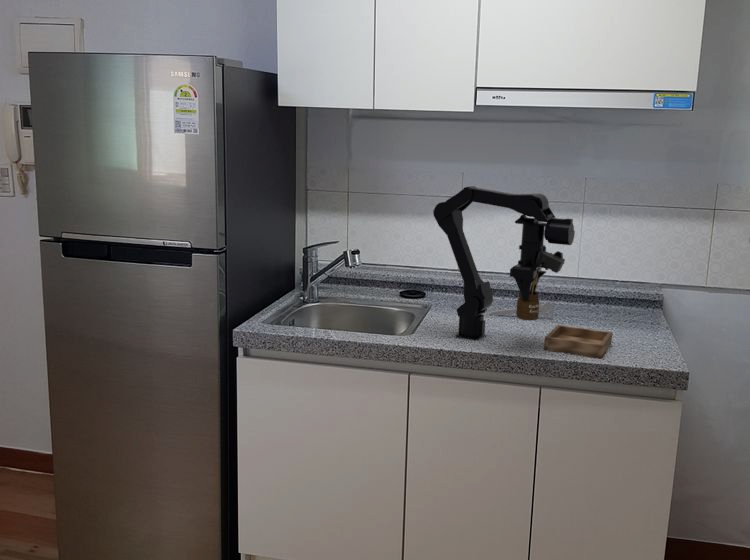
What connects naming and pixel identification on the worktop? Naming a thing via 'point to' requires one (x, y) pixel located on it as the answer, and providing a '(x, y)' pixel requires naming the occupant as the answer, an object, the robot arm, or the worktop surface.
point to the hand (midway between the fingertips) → (528, 299)
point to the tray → (578, 341)
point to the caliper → (513, 311)
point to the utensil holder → (528, 305)
